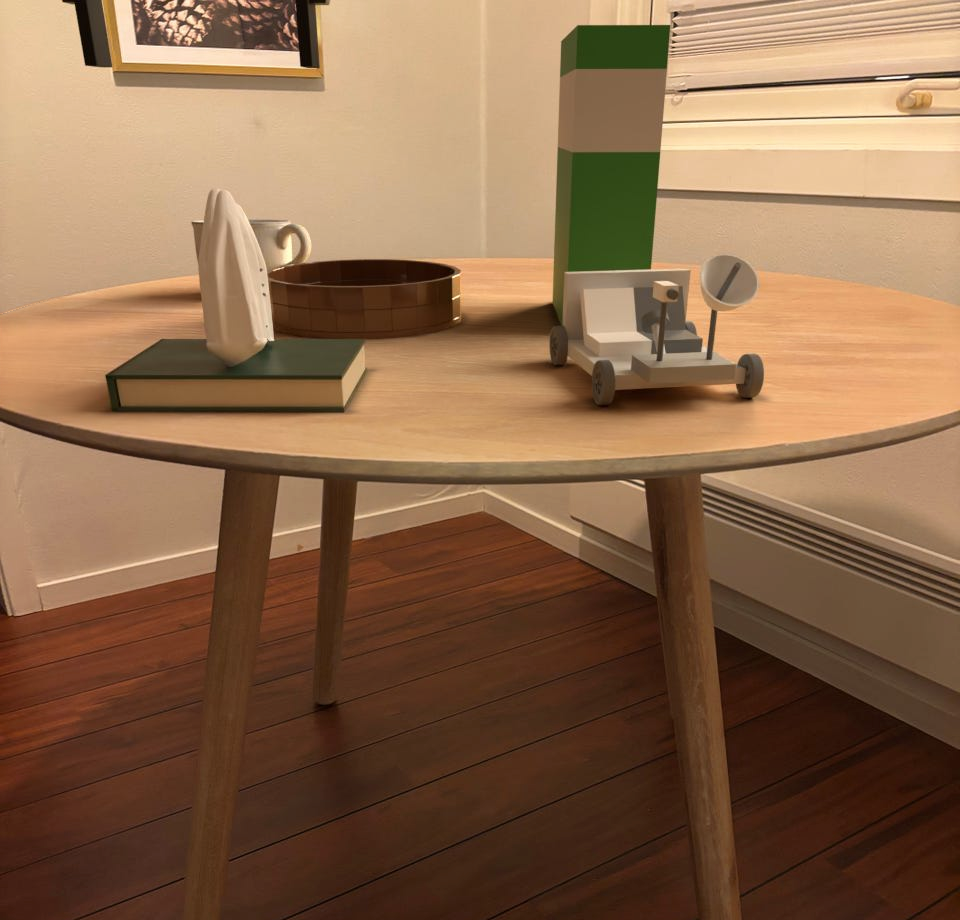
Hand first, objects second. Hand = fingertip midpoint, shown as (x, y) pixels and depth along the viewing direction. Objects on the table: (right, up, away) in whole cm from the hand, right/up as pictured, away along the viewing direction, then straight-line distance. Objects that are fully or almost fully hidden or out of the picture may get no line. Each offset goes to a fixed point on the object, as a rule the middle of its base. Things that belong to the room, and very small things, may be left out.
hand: (204, 67), depth 60 cm
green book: (+1, -18, +9) cm, 20 cm away
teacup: (-7, +2, +47) cm, 48 cm away
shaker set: (+1, -16, +8) cm, 18 cm away
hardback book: (+29, -5, +34) cm, 45 cm away
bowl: (+6, -5, +34) cm, 35 cm away
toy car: (+31, -18, +10) cm, 37 cm away
